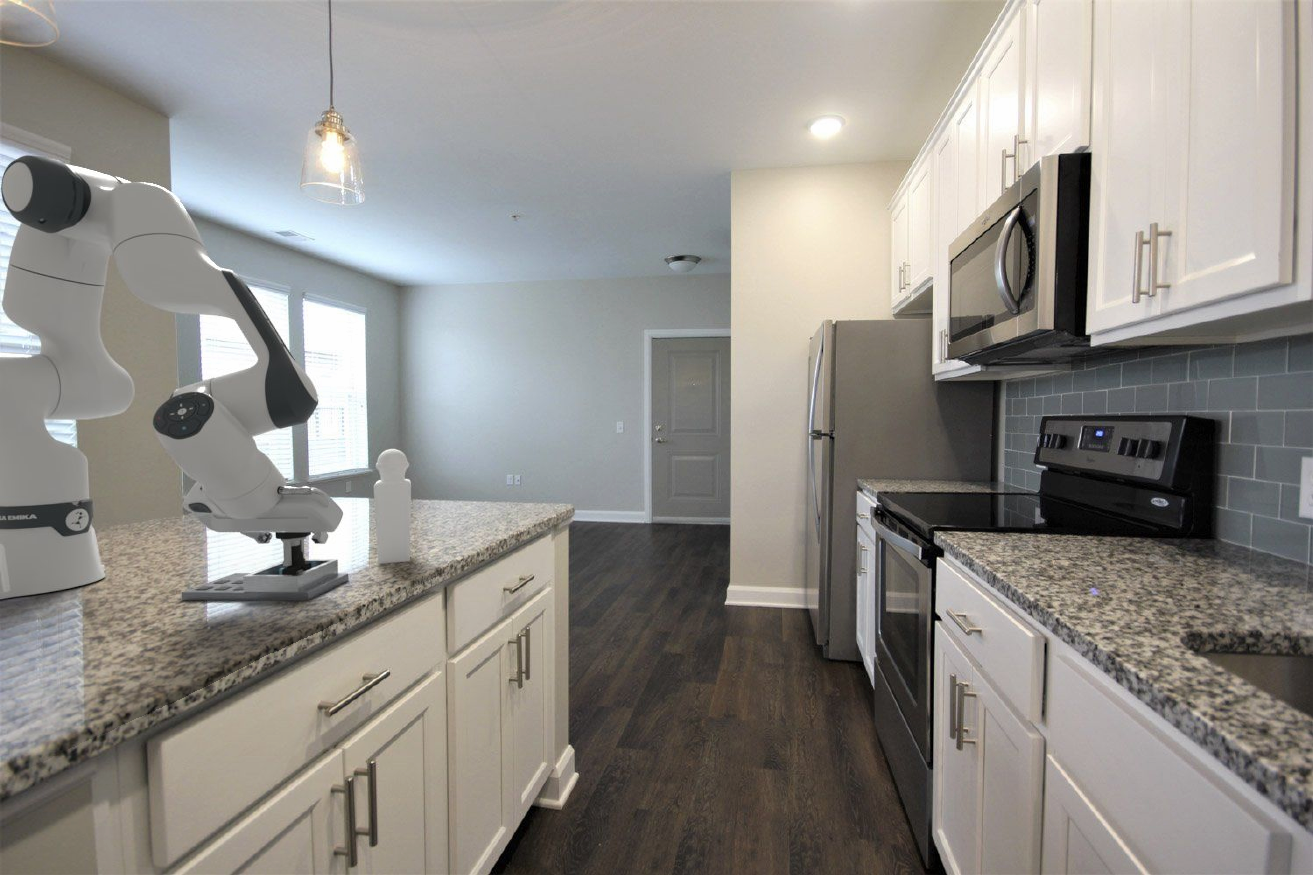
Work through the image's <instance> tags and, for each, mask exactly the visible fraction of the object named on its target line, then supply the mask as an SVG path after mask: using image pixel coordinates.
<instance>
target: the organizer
mask: <svg viewBox="0 0 1313 875" xmlns="http://www.w3.org/2000/svg"><path fill="white" fill-rule="evenodd" d="M305 563H311V569H309V570H307V571H304V572H302V573H299V574H297V575H279V569H281V568H284V567H283V561H280V562H278V563H275V564H271V565H270V566H267V567H264V568H261V569H259V570H256V571H254V572H250V573H249V572H236V573H232V574H230V575H227V576H223V577H221V578H217V579H215V580H212V581H210V582H207V583H204V584H201V585H198V586H195V587H193V588H189V589H187V590H183V591H181V601H310V600H312V599H315V598H316V597H318V596H320V595H322V594H324V593H326V592H328V591H330V590H332V589H334V588H336V587H338V586H340V585H342V584H344V583H346V582H348V581H349V573H344V572H343V573H340V572H339V563H338V559H325V558H324V559H323V558H322V559H320V558H319V559H316V558H314V559H312V558H308V559H307V558H305Z"/></svg>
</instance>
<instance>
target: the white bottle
mask: <svg viewBox="0 0 1313 875" xmlns="http://www.w3.org/2000/svg"><path fill="white" fill-rule="evenodd" d="M409 466H410V462H408V458H407V456H406V454H405V453H404V452H403V451H401V450H400V449H396V448H389V449H385V450H384V451H382V452H381V453H380V454H379V456H378V457H377V461H376V463H375V468H376V470H377V471H378V472H379V473H378V474H379V476H380V479H379V480H377V481H376V482H375V483H374V484H373V499H374V516H375V533H376V534H375V535H376V550H377V551H376V552H377V553H376V554H377V563H378V565H384V564H393V563H395V564H396V563H405V562H406V563H407V562H411V525H412V524H411V517H412V516H411V515H412V514H411V513H412V511H411V510H412V507H411V506H412V504H411V503H412V499H411V498H412V481H411V479H409V478H406V477H405V476H406V472H407V470H408V468H409Z"/></svg>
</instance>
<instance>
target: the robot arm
mask: <svg viewBox="0 0 1313 875" xmlns="http://www.w3.org/2000/svg"><path fill="white" fill-rule="evenodd" d="M0 192H1V193H0V194H1V198H2V202H3V204H4V206H5V208H6V209H7V210H8V212H9V214H10V215H11V216H12V217H13V218H14V219H15V220H16V221H18V222H20V225H19V227H18V229H17V232H16V234H15V238H14V239H13V244H12V247H11V251H10V255H9V260H8V265H7V270H6V277H5V283H4V289H3V290H4V291H3V297H2V301H1V307H2V310H3V312H4V314H5V315H6V317H7V318H8V319H9V320H10V321H11V322H12V323H13V324H14V325H17V326H18V327H19V328H22V329H23V330H25V331H27V332H29V333H30V334H33V335H34V336H37V337H38V338H39V341H40V352H39V353H35V354H33V353H21V352H11V351H9V352H8V351H0V600H4V599H9V598H16V597H22V596H23V597H24V596H30V595H31V596H32V595H37V594H38V595H39V594H45V593H50V592H56V591H63V590H66V589H71V588H75V587H79V586H84V585H89V584H91V583H94V582H97V581H99V580H102V579H104V578H105V577H106V573H105V571H106V566H105V564H102V562H101V555H100V550H99V546H98V540H97V536H96V534H97V533H96V530H95V528H94V527H93V526H92V521H93V519H94V518H95V515H94V514H95V512H94V510H95V505H94V502H93V499H92V498H91V497H90V487H89V486H90V482H89V461H88V460H89V459H88V458H87V456H86V455H85V453H84V452H83V451H82V450H80V449H79V448H78V447H75V446H73V445H71V444H69V443H67V442H64V441H61V440H58V439H55V438H54V437H53V436H52V434H50V432H49V431H48V429H47V426H46V423H45V421H47V420H49V421H50V420H51V421H52V420H55V421H58V420H59V421H60V420H61V421H62V420H63V421H64V420H66V421H67V420H72V421H73V420H75V421H77V420H85V421H87V420H94V419H101V418H108V417H113V416H117V415H121V414H123V413H124V412H125V411H126V410H128V409H129V407H130V406H131V404H132V403H133V401H134V398H135V394H136V393H135V392H136V388H135V383H134V381H133V378H132V377H131V375H130V374H129V372H128V371H127V370H126V369H125V368H124V367H122V366H121V365H120V364H118V363H117V362H116V361H115V360H114V359H113V358H112V356H111V355H110V354H109V352H108V351H107V349H106V347H105V345H104V342H103V339H102V335H101V314H102V306H103V299H104V293H105V287H106V282H107V274H108V264H109V260H110V257H111V256H113V260H114V261H115V262H114V263H115V264H116V268H117V271H118V273H119V275H120V277H121V279H122V281H123V283H124V285H125V286H126V288H127V289H128V291H129V292H131V293H132V294H133V295H134V296H135V297H136V298H138V299H139V300H140V301H142V302H144V303H145V304H148V305H150V306H152V307H154V308H157V309H159V310H163V311H166V312H171V313H174V314H175V313H177V314H182V315H207V316H217V317H224V318H227V319H228V318H229V319H231V320H234V321H235V323H236V324H237V326H238V328H239V329H240V331H241V333H242V334H243V336H244V338H245V340H246V341H247V342H248V344H249V346H250V347H251V349H252V350H253V352H254V354H255V355H256V357H257V362H256V363H255V364H254V365H252V366H251V367H247V368H245V369H242V370H241V369H240V370H238V371H234V372H231V373H227V374H225V375H221V376H218V377H217V376H216V377H212V378H208V379H204V380H202V381H201V380H200V381H197V382H195V383H192V384H187V385H185V386H182V387H180V388H177V389H175V390H174V391H173V392H172V393H171V395H170V396H169V398H168V399H167V400H166V401H165V402H163V403H162V404H161V405H159V407H158V408H157V409H156V411H155V413H153V416H152V421H151V423H152V424H151V425H152V429H153V431H154V433H155V435H156V438H157V439H158V441H159V442H160V444H161V446H162V448H164V450H165V451H166V453H167V454H168V455H169V457H171V459H172V460H173V462H175V464H176V465H177V466H178V467H179V468H180V469H181V471H182V472H183V473H184V474H185V475H187V477H188V478H190V479H191V480H194V481H196V482H195V483H194V484H193V486H192V487H191V489H190V490H189V491H188V493H187V495H185V498H184V499H183V501H182V503H181V506H182V507H183V508H184V509H185V510H187V512H189V513H191V514H192V515H193V516H194V517H195V519H196V520H197V521H198V522H200V523H201V524H202V525H203V526H204V527H205V528H206V529H208V530H211V531H214V532H216V533H240V534H241V535H244V536H246V537H248V538H250V539H253V540H255V542H256V543H257V544H258V545H259V544H260V545H261V544H263V545H264V544H269V543H270V542H271V540H272V539H273V534H272V533H275V532H311V534H313V535H312V537H311V540H312V542H314V544H316V545H317V544H318V545H319V544H320V545H324V544H326V543H327V541H328V539H329V533H334V532H335V531H336V530H337V529H338V527H339V526H340V524H341V521H342V519H343V516H344V511H343V510H342V508H341V507H340V506H339V504H337V502H335V501H334V499H333V498H332V497H331V496H329V494H327V493H326V492H325V491H323V490H322V489H319V488H317V487H310V486H300V487H299V486H297V487H295V486H287V485H288V484H287V480H286V478H285V476H283V474H282V473H281V472H280V470H279V469H278V468H277V467H276V465H275V464H274V462H272V460H271V458H269V457H268V455H266V453H264V452H262V451H261V450H259V448H258V446H257V443H256V441H255V439H254V437H257V436H260V435H263V434H266V433H268V432H269V433H270V432H271V431H272V432H273V431H275V430H278V429H280V430H282V429H287V428H290V427H294V426H298V425H303V424H306V423H307V421H308V420H310V419H311V416H312V415H313V414H314V412H315V410H316V409H317V407H318V404H319V399H318V393H317V388H316V387H315V386H314V383H313V381H312V380H311V378H310V377H309V375H308V374H307V373H306V372H305V370H304V369H303V368H302V367H301V366H300V365H299V363H298V362H297V361H296V359H295V358H294V356H293V354H292V353H291V352H290V350H289V349H288V346H287V345H286V343H285V342H284V341H283V339H282V337H281V335H280V334H279V332H278V330H277V328H275V326H274V324H273V323H272V321H271V318H270V317H269V316H268V315H267V313H266V311H265V310H264V308H263V307H262V305H261V304H260V302H259V300H258V299H257V298H256V296H255V295H254V293H253V292H252V290H251V289H250V287H249V286H248V285H247V284H246V283H245V281H244V280H243V279H242V278H241V277H240V276H239V275H238V274H237V273H236V272H234V270H232V269H227V268H222V267H219V266H218V265H217V264H216V263H215V262H213V261H212V259H211V258H210V256H209V254H208V251H207V249H206V246H205V244H204V242H203V239H202V237H201V234H200V232H199V230H198V228H197V227H196V225H195V222H194V221H193V219H192V218H191V216H190V214H189V212H188V211H187V209H186V208H185V206H184V204H183V203H182V202H181V201H180V199H179V198H178V197H177V195H176V194H174V193H173V192H171V191H169V190H168V189H166V188H165V187H163V186H160V185H157V184H154V183H150V182H145V181H144V182H142V181H134V182H133V181H132V182H131V181H129V180H126V179H123V178H121V177H118V176H115V175H113V174H104V173H102V172H100V171H99V172H98V171H95V170H91V169H88V168H84V167H81V166H76V165H71V164H67V163H64V162H63V161H61V160H59V159H56V158H52V157H46V156H40V155H39V156H38V155H22V156H19V157H18V158H17V159H14V160H13V161H11V162H10V163H9V164H8V165H7V167H6V168H5V170H4V173H3V175H2V179H1V184H0Z"/></svg>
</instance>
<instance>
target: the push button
mask: <svg viewBox="0 0 1313 875" xmlns="http://www.w3.org/2000/svg"><path fill="white" fill-rule="evenodd" d="M274 533H275V538H276V539H277V540H280V541H281V542H282V546H283V551H282V552H283V561H282V562H283V567H284V568H281V569H279V575H297V574H299V573H302V572H304V571H307V570H309V569H311V563H305V559H306V558H305V539H307V537H308V536H310V535H311V534H312V532H274Z"/></svg>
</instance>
